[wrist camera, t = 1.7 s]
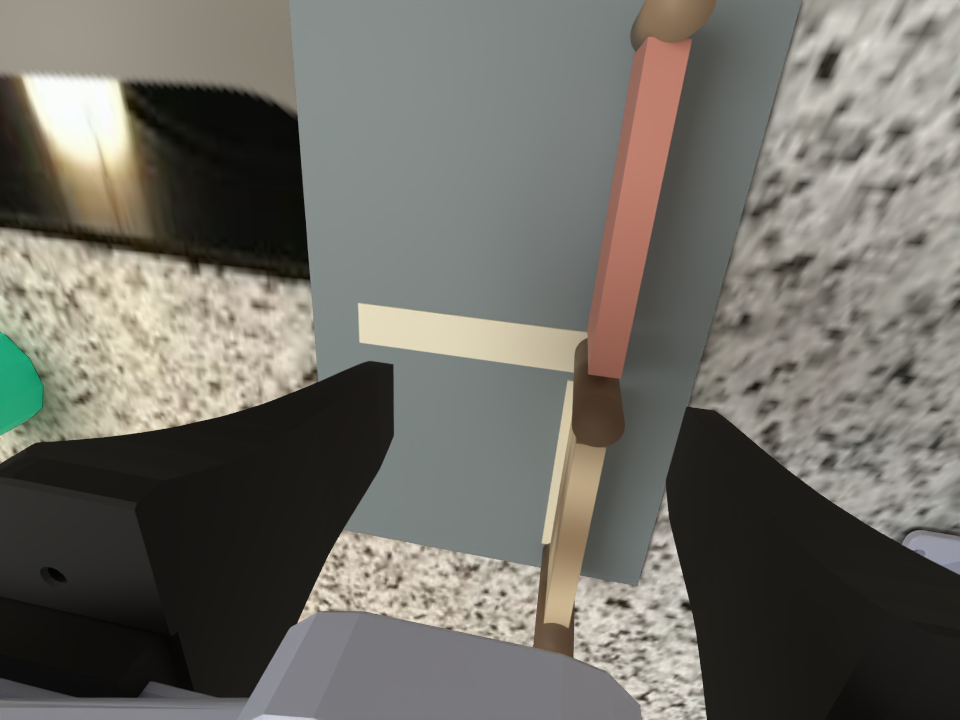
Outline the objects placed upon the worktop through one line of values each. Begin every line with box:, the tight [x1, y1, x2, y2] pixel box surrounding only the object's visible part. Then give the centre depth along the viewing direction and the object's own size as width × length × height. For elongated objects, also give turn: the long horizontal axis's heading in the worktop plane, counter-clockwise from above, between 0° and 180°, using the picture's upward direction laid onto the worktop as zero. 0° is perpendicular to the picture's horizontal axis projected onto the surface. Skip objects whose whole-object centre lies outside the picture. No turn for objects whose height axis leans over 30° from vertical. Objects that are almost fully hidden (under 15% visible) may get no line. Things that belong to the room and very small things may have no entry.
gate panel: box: [587, 0, 717, 379], centre depth 15 cm, size 10×1×5 cm, turn 176°
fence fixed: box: [533, 338, 625, 658], centre depth 21 cm, size 12×2×6 cm, turn 176°
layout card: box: [289, 0, 802, 586], centre depth 21 cm, size 24×16×1 cm, turn 176°
